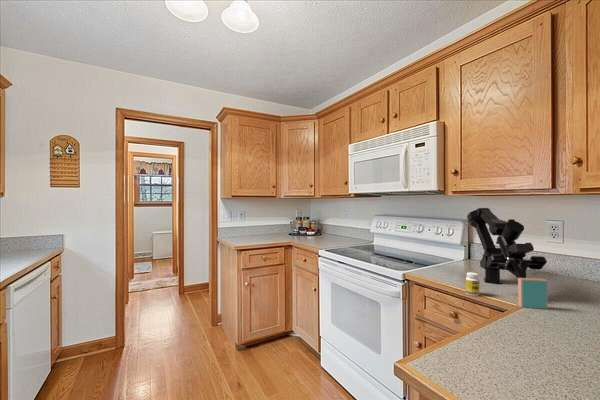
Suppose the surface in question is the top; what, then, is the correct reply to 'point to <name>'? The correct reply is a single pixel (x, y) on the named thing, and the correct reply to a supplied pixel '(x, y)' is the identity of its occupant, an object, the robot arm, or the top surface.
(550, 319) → the top surface
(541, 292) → the tile
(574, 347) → the top surface
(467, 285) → the supplement bottle
